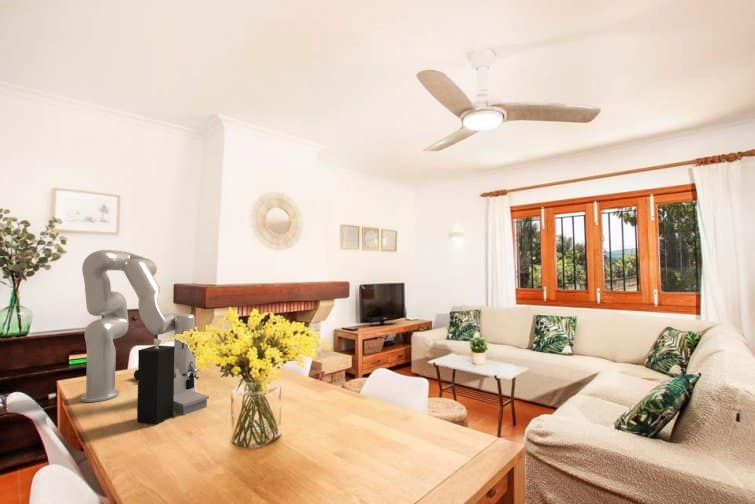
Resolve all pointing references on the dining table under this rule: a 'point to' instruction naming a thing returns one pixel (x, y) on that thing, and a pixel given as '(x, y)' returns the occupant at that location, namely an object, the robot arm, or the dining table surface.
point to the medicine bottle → (182, 383)
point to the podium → (189, 402)
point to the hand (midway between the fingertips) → (183, 386)
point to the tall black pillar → (155, 383)
